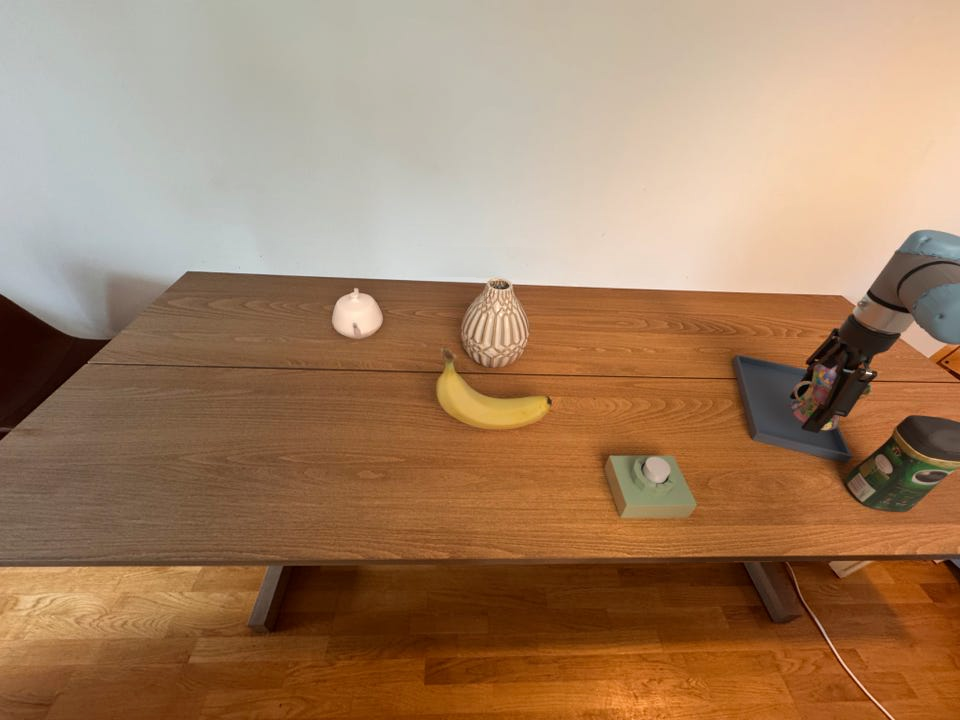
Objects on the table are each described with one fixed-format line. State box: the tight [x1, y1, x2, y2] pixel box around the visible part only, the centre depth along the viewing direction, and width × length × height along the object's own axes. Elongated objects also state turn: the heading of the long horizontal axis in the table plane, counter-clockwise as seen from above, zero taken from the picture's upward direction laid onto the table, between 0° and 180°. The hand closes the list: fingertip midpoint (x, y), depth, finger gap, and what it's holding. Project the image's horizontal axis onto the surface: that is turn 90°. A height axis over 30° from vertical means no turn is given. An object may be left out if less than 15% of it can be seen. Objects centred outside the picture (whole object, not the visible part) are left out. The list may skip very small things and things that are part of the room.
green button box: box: [603, 454, 698, 519], centre depth 73 cm, size 12×10×6 cm
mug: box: [790, 364, 873, 430], centre depth 82 cm, size 12×9×11 cm
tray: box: [732, 354, 853, 464], centre depth 94 cm, size 27×17×2 cm, turn 163°
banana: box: [435, 346, 553, 431], centre depth 79 cm, size 23×6×20 cm, turn 95°
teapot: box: [331, 287, 384, 340], centre depth 104 cm, size 20×12×10 cm, turn 12°
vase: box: [460, 277, 531, 369], centre depth 96 cm, size 16×16×20 cm
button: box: [642, 457, 671, 484], centre depth 71 cm, size 4×4×2 cm
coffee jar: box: [844, 414, 960, 513], centre depth 72 cm, size 10×8×19 cm
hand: (803, 413), depth 86 cm, fingers closed on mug, 8 cm apart
